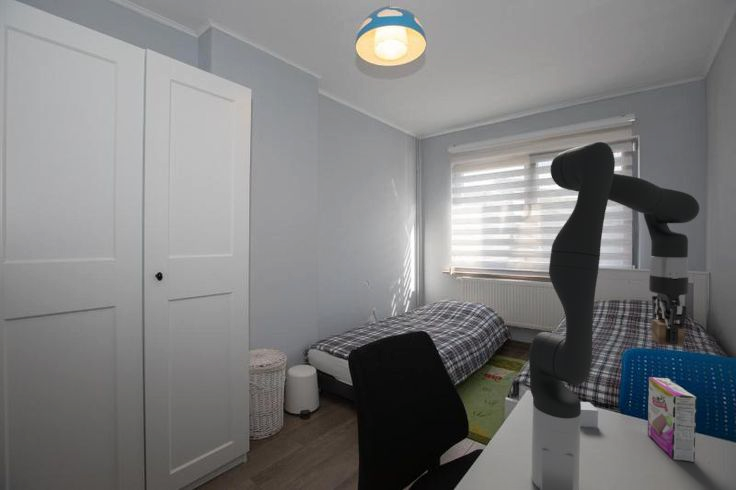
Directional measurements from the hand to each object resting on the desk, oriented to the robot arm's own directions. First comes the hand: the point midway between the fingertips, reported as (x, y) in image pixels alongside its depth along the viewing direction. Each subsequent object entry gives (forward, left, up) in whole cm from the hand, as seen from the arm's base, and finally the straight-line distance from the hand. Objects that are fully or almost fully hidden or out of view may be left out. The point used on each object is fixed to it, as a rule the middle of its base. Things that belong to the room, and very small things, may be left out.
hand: (667, 339), depth 90 cm
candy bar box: (0, -1, -28) cm, 28 cm away
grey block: (+6, +17, -28) cm, 34 cm away
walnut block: (0, 0, 0) cm, 0 cm away
